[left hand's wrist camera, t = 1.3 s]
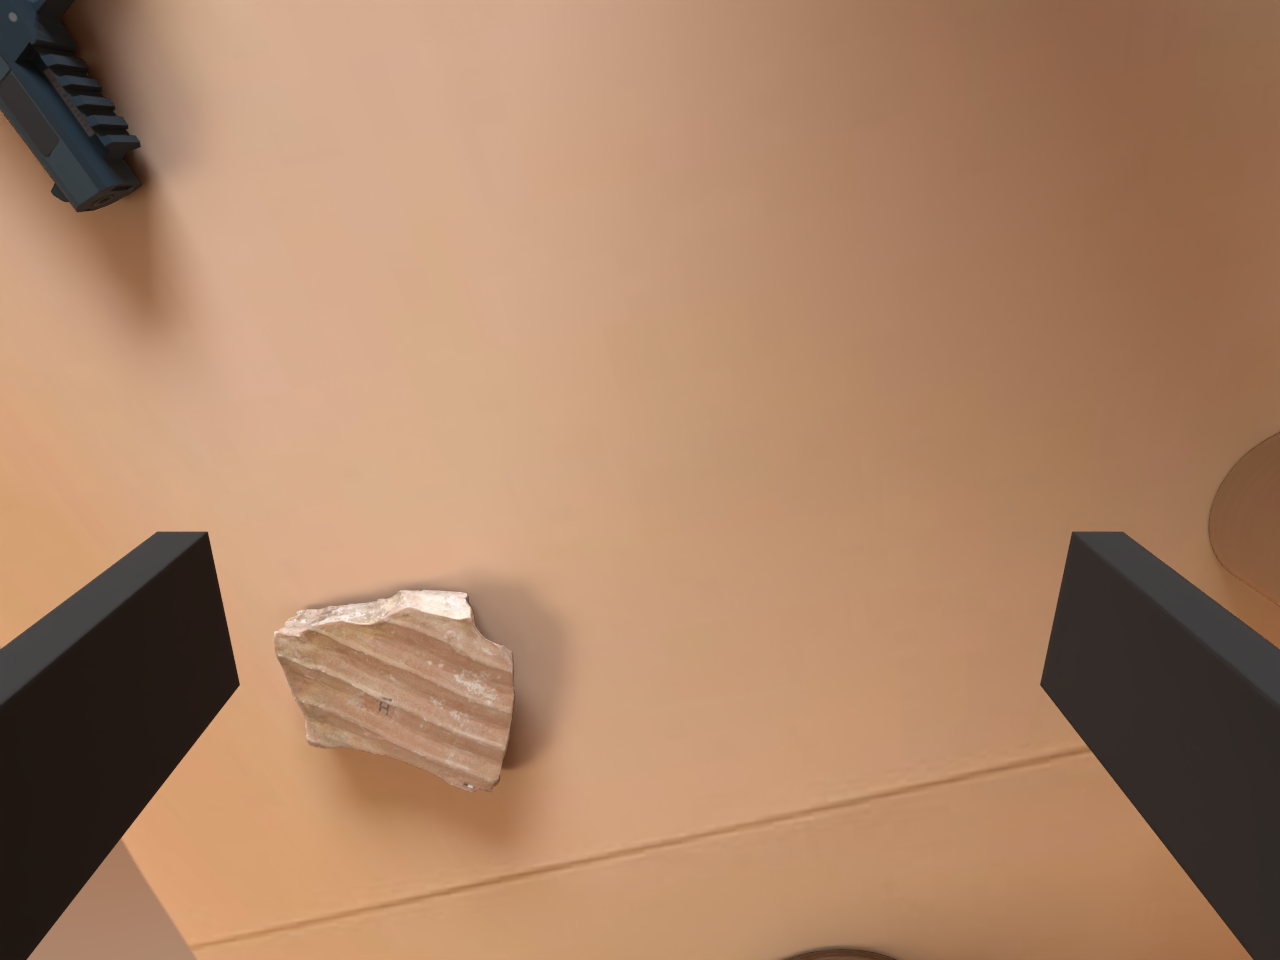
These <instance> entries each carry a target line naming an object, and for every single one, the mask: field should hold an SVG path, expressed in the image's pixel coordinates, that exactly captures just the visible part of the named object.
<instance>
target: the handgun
mask: <svg viewBox="0 0 1280 960" xmlns="http://www.w3.org/2000/svg"><path fill="white" fill-rule="evenodd" d="M73 1H74V0H0V110H1V111H2V112H3V114H4V115H5V116H6V118H7V119H8V120H9V122H10V123H11V124H12V126H13V127H14V128H15V130H16V131H17V132H18V134H19V135H20V136H21V138H22V139H23V141H24V142H25V143H26V145H27V146H28V147H29V149H30V150H31V151H32V153H33V154H34V155H35V157H36V158H37V159H38V161H39V162H40V163H41V165H42V166H43V167H44V169H45V170H46V171H47V173H48V174H49V175H50V177H51V178H52V179H53V181H54V182H55V184H54V186H53V188H52V190H51V192H52V194H53V195H54V196H56V197H57V198H59V199H60V200H62V201H64V202H70V204H71V205H72V206H73V208H74V209H75V210H76V212H83V211H93V210H96V209H99V208H102V207H105V206H107V205H110V204H112V203H114V202H116V201H117V200H119V199H121V198H122V197H124V196H126V195H127V194H129V193H131V192H132V191H134V190H135V189H137V188H139V187H140V186H142V184H141V183H140V182H139V180H138V179H137V178H136V176H135V175H134V173H133V172H132V171H131V169H130V168H129V166H128V165H127V164H126V162H125V161H124V159H123V157H124V156H125V155H126V153H127V152H128V151H130V150H133V149H136V148H139V147H141V146H140V142H139V140H138V139H137V137H136V136H130V135H129V133H128V132H127V130H126V129H128V124H127V123H126V122H125V120H124V119H123V117H117V116H116V115H115V113H114V112H113V110H115V106H114V104H113V103H112V102H111V100H110V99H109V98H103V96H102V95H101V93H100V92H99V91H102V87H101V86H100V84H99V83H98V81H97V80H96V79H90V78H89V76H88V75H87V72H88V69H89V68H88V67H87V66H86V64H85V63H84V61H83V60H82V59H77V58H76V57H75V56H74V55H73V52H76V51H77V50H78V49H77V46H76V44H75V42H74V41H73V39H72V38H71V36H70V35H69V33H68V31H67V30H66V28H65V27H64V25H63V24H62V22H61V21H60V19H59V18H60V17H61V16H62V15H63V13H64V12H65V11H66V10H67V8H68V7H69V6H70V5H71V4H72V2H73Z"/></svg>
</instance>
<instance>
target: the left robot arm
mask: <svg viewBox="0 0 1280 960" xmlns="http://www.w3.org/2000/svg"><path fill="white" fill-rule="evenodd" d="M239 685H240V684H239V679H238V674H237V669H236V664H235V660H234V655H233V650H232V645H231V641H230V636H229V631H228V626H227V622H226V617H225V612H224V607H223V602H222V598H221V593H220V588H219V583H218V579H217V574H216V569H215V564H214V559H213V555H212V550H211V545H210V540H209V536H208V532H156V533H155V534H154V535H152V536H151V537H150V538H148V539H147V540H146V541H144V542H143V543H142V544H140V545H139V546H138V547H136V548H135V549H134V550H132V551H131V552H130V553H128V554H127V555H126V556H124V557H123V558H122V559H120V560H119V561H118V562H116V563H115V564H114V565H112V566H111V567H110V568H108V569H107V570H106V571H104V572H103V573H102V574H100V575H99V576H98V577H96V578H95V579H94V580H92V581H91V582H90V583H88V584H87V585H86V586H84V587H83V588H82V589H80V590H79V591H78V592H76V593H75V594H74V595H72V596H71V597H70V598H68V599H67V600H66V601H64V602H63V603H62V604H60V605H59V606H58V607H56V608H55V609H54V610H52V611H51V612H50V613H48V614H47V615H46V616H44V617H43V618H42V619H40V620H39V621H38V622H36V623H35V624H34V625H32V626H31V627H30V628H28V629H27V630H26V631H24V632H23V633H22V634H20V635H19V636H18V637H16V638H15V639H14V640H12V641H11V642H10V643H8V644H7V645H6V646H4V647H3V648H2V649H0V960H27V958H28V957H29V956H30V954H31V953H32V952H33V951H34V949H35V948H36V947H37V945H38V944H39V943H40V942H41V940H42V939H43V938H44V936H45V935H46V934H47V933H48V931H49V930H50V929H51V927H52V926H53V925H54V924H55V922H56V921H57V920H58V918H59V917H60V916H61V915H62V913H63V912H64V911H65V909H66V908H67V907H68V906H69V904H70V903H71V902H72V900H73V899H74V898H75V897H76V895H77V894H78V893H79V891H80V890H81V889H82V888H83V886H84V885H85V884H86V882H87V881H88V880H89V878H90V877H91V876H92V875H93V873H94V872H95V871H96V869H97V868H98V867H99V866H100V864H101V863H102V862H103V860H104V859H105V858H106V857H107V855H108V854H109V853H110V851H111V850H112V849H113V848H114V846H115V845H116V844H117V842H118V841H119V840H120V839H121V837H122V836H123V835H124V833H125V832H126V831H127V830H128V828H129V827H130V826H131V824H132V823H133V822H134V821H135V819H136V818H137V817H138V815H139V814H140V813H141V812H142V810H143V809H144V808H145V806H146V805H147V804H148V803H149V801H150V800H151V799H152V797H153V796H154V795H155V793H156V792H157V791H158V790H159V788H160V787H161V786H162V784H163V783H164V782H165V781H166V779H167V778H168V777H169V775H170V774H171V773H172V772H173V770H174V769H175V768H176V766H177V765H178V764H179V763H180V761H181V760H182V759H183V757H184V756H185V755H186V754H187V752H188V751H189V750H190V748H191V747H192V746H193V745H194V743H195V742H196V741H197V739H198V738H199V737H200V736H201V734H202V733H203V732H204V730H205V729H206V728H207V727H208V725H209V724H210V723H211V721H212V720H213V719H214V717H215V716H216V715H217V714H218V712H219V711H220V710H221V708H222V707H223V706H224V705H225V703H226V702H227V701H228V699H229V698H230V697H231V696H232V694H233V693H234V692H235V690H236V689H237V688H238V687H239ZM1040 685H1041V687H1042V688H1043V689H1044V690H1045V692H1046V693H1047V694H1048V696H1049V697H1050V698H1051V699H1052V701H1053V702H1054V703H1055V705H1056V706H1057V707H1058V708H1059V710H1060V711H1061V712H1062V714H1063V715H1064V716H1065V717H1066V719H1067V720H1068V721H1069V723H1070V724H1071V725H1072V727H1073V728H1074V729H1075V730H1076V732H1077V733H1078V734H1079V736H1080V737H1081V738H1082V739H1083V741H1084V742H1085V743H1086V745H1087V746H1088V747H1089V748H1090V750H1091V751H1092V752H1093V754H1094V755H1095V756H1096V757H1097V759H1098V760H1099V761H1100V763H1101V764H1102V765H1103V766H1104V768H1105V769H1106V770H1107V772H1108V773H1109V774H1110V775H1111V777H1112V778H1113V779H1114V781H1115V782H1116V783H1117V784H1118V786H1119V787H1120V788H1121V790H1122V791H1123V792H1124V793H1125V795H1126V796H1127V797H1128V799H1129V800H1130V801H1131V803H1132V804H1133V805H1134V806H1135V808H1136V809H1137V810H1138V812H1139V813H1140V814H1141V815H1142V817H1143V818H1144V819H1145V821H1146V822H1147V823H1148V824H1149V826H1150V827H1151V828H1152V830H1153V831H1154V832H1155V833H1156V835H1157V836H1158V837H1159V839H1160V840H1161V841H1162V842H1163V844H1164V845H1165V846H1166V848H1167V849H1168V850H1169V851H1170V853H1171V854H1172V855H1173V857H1174V858H1175V859H1176V860H1177V862H1178V863H1179V864H1180V866H1181V867H1182V868H1183V869H1184V871H1185V872H1186V873H1187V875H1188V876H1189V877H1190V879H1191V880H1192V881H1193V882H1194V884H1195V885H1196V886H1197V888H1198V889H1199V890H1200V891H1201V893H1202V894H1203V895H1204V897H1205V898H1206V899H1207V900H1208V902H1209V903H1210V904H1211V906H1212V907H1213V908H1214V909H1215V911H1216V912H1217V913H1218V915H1219V916H1220V917H1221V918H1222V920H1223V921H1224V922H1225V924H1226V925H1227V926H1228V927H1229V929H1230V930H1231V931H1232V933H1233V934H1234V935H1235V936H1236V938H1237V939H1238V940H1239V942H1240V943H1241V944H1242V945H1243V947H1244V948H1245V949H1246V951H1247V952H1248V953H1249V954H1250V956H1251V957H1252V958H1253V960H1280V649H1278V648H1277V647H1276V646H1274V645H1273V644H1272V643H1270V642H1269V641H1268V640H1266V639H1265V638H1264V637H1262V636H1261V635H1260V634H1258V633H1257V632H1256V631H1254V630H1253V629H1252V628H1250V627H1249V626H1248V625H1246V624H1245V623H1244V622H1242V621H1241V620H1240V619H1238V618H1237V617H1236V616H1234V615H1233V614H1232V613H1230V612H1229V611H1228V610H1226V609H1225V608H1224V607H1222V606H1221V605H1220V604H1218V603H1217V602H1216V601H1214V600H1213V599H1212V598H1210V597H1209V596H1208V595H1206V594H1205V593H1204V592H1202V591H1201V590H1200V589H1198V588H1197V587H1196V586H1194V585H1193V584H1192V583H1190V582H1189V581H1188V580H1186V579H1185V578H1184V577H1182V576H1181V575H1180V574H1178V573H1177V572H1176V571H1174V570H1173V569H1172V568H1170V567H1169V566H1168V565H1166V564H1165V563H1164V562H1162V561H1161V560H1160V559H1158V558H1157V557H1156V556H1154V555H1153V554H1152V553H1150V552H1149V551H1148V550H1146V549H1145V548H1144V547H1142V546H1141V545H1140V544H1138V543H1137V542H1136V541H1134V540H1133V539H1132V538H1130V537H1129V536H1128V535H1126V534H1125V533H1124V532H1072V536H1071V540H1070V545H1069V550H1068V555H1067V559H1066V564H1065V569H1064V574H1063V579H1062V583H1061V588H1060V593H1059V598H1058V602H1057V607H1056V612H1055V617H1054V622H1053V626H1052V631H1051V636H1050V641H1049V645H1048V650H1047V655H1046V660H1045V664H1044V669H1043V674H1042V679H1041V684H1040ZM786 960H896V959H893V958H891V957H888V956H885V955H881V954H877V953H873V952H867V951H860V950H845V949H840V950H824V951H817V952H811V953H807V954H803V955H799V956H795V957H792V958H789V959H786Z"/></svg>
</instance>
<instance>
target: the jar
mask: <svg viewBox="0 0 1280 960" xmlns="http://www.w3.org/2000/svg"><path fill="white" fill-rule="evenodd" d="M1209 535H1210V541H1211V545H1212V548H1213V551H1214V553H1215V555H1216V557H1217V559H1218V560H1219V561H1220V563H1221V564H1222V565H1223V566H1224V567H1225V568H1226V569H1227V570H1228V571H1229V572H1230V573H1231V574H1233V575H1234V576H1236V577H1237V578H1239V579H1240V580H1242V581H1243V582H1244V583H1246V584H1247V585H1249V586H1250V587H1252V588H1253V589H1255V590H1256V591H1258V592H1259V593H1261V594H1262V595H1263V596H1265V597H1266V598H1268V599H1269V600H1271V601H1272V602H1274V603H1275V604H1277V605H1278V606H1280V433H1278V434H1276V435H1274V436H1272V437H1270V438H1268V439H1267V440H1265V441H1263V442H1262V443H1260V444H1259V445H1258V446H1256V447H1255V448H1253V449H1252V450H1251V451H1250V452H1249V453H1247V454H1246V455H1245V456H1244V457H1243V458H1242V459H1241V460H1240V461H1239V462H1238V463H1237V464H1236V465H1235V466H1234V467H1233V469H1232V470H1231V471H1230V473H1229V474H1228V475H1227V476H1226V478H1225V480H1224V481H1223V483H1222V484H1221V486H1220V488H1219V490H1218V492H1217V494H1216V496H1215V499H1214V502H1213V505H1212V508H1211V513H1210V519H1209Z"/></svg>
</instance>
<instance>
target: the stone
mask: <svg viewBox="0 0 1280 960" xmlns="http://www.w3.org/2000/svg"><path fill="white" fill-rule="evenodd" d="M274 644H275V653H276V656H277V659H278V661H279V662H280V664H281V666H282V668H283V670H284V673H285V676H286V679H287V681H288V684H289V686H290V688H291V691H292V694H293V697H294V699H295V700H296V702H297V704H298V705H299V707H300V709H301V711H302V713H303V714H304V717H305V728H306V734H307V744H308V745H309V746H314V747H318V748H350V749H354V750H361V751H365V752H368V753H372V754H382V755H386V756H389V757H392V758H394V759H397V760H400V761H403V762H405V763H408V764H410V765H413V766H415V767H418V768H420V769H423V770H425V771H428V772H430V773H432V774H434V775H435V776H437V777H439V778H441V779H443V780H445V781H446V782H447V783H449V784H451V785H454V786H456V787H459V788H461V789H464V790H466V791H469V792H474V791H476V790H478V789H481V790H484V791H488V792H491V791H492V789H493V786H496V785H497V784H498V783H499V781H500V771H501V767H502V764H503V758H504V756H505V754H506V751H507V749H508V743H509V739H510V724H511V721H512V713H513V709H514V697H515V692H514V688H513V687H514V684H513V676H514V663H513V653H512V651H510V650H509V649H508V648H506V647H505V646H504V645H499V644H496V643H493V642H492V641H490V640H487V639H486V638H485V637H484V636H483V635H482V634H481V633H480V632H479V631H478V629H477V627H476V625H475V618H474V614H473V611H472V609H471V607H470V606H469V597H468V594H467V593H463V592H452V591H438V590H421V591H418V590H415V591H412V590H401V591H398V592H397V593H396V594H395V595H394V596H392V597H390V598H384V599H378V600H376V601H374V602H367V603H358V604H348V605H341V606H328V607H325V608H322V609H319V610H317V609H305V610H300V611H298V612H297V616H295V617H292V618H289V619H288V620H287V621H286V622H285V625H284V627H283V628H282V629H280V630H278V631H276V632H275V634H274Z"/></svg>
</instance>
